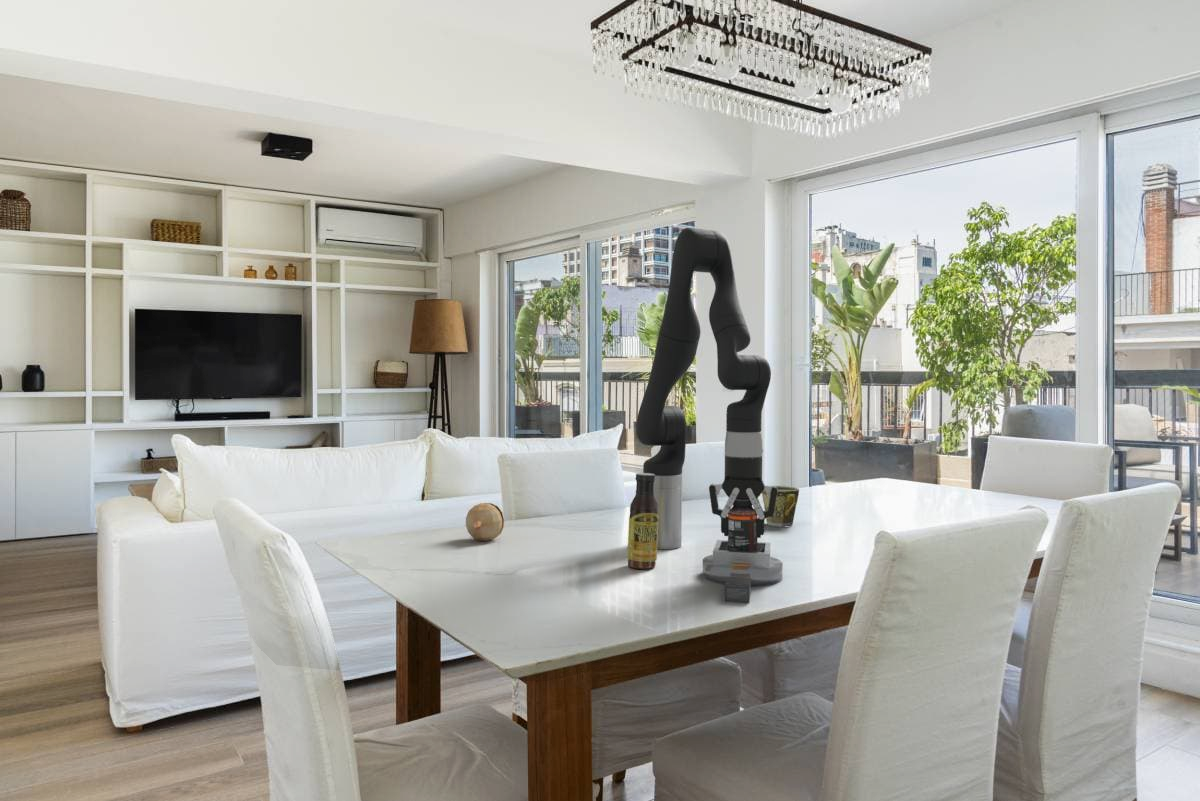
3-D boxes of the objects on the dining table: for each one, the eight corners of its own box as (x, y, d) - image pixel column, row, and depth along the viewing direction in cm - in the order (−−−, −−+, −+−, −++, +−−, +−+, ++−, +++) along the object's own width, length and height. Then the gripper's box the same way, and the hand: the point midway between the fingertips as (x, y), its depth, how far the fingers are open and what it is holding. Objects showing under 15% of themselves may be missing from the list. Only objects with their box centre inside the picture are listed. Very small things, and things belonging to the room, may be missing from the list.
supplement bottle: (753, 550, 172) (754, 496, 172) (760, 557, 166) (760, 500, 166) (725, 550, 172) (725, 496, 171) (730, 557, 166) (731, 500, 165)
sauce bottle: (632, 571, 173) (633, 476, 172) (623, 564, 179) (624, 472, 178) (662, 569, 174) (662, 475, 174) (652, 562, 180) (653, 471, 180)
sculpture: (510, 503, 209) (489, 497, 195) (513, 540, 207) (492, 536, 193) (476, 507, 211) (452, 501, 197) (478, 544, 209) (454, 541, 195)
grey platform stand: (692, 599, 152) (692, 566, 152) (706, 564, 179) (706, 537, 178) (782, 604, 148) (782, 571, 148) (782, 569, 175) (782, 540, 175)
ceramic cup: (754, 522, 229) (754, 486, 228) (786, 520, 232) (787, 485, 231) (778, 531, 216) (778, 493, 216) (811, 529, 219) (812, 491, 219)
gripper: (706, 454, 166) (705, 538, 167) (779, 456, 163) (778, 541, 164) (709, 451, 173) (708, 531, 174) (779, 453, 170) (778, 534, 171)
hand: (742, 536), depth 169 cm, fingers closed on supplement bottle, 6 cm apart
